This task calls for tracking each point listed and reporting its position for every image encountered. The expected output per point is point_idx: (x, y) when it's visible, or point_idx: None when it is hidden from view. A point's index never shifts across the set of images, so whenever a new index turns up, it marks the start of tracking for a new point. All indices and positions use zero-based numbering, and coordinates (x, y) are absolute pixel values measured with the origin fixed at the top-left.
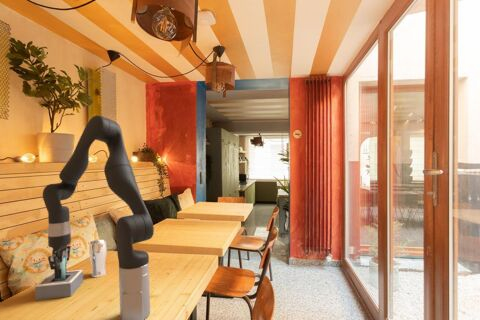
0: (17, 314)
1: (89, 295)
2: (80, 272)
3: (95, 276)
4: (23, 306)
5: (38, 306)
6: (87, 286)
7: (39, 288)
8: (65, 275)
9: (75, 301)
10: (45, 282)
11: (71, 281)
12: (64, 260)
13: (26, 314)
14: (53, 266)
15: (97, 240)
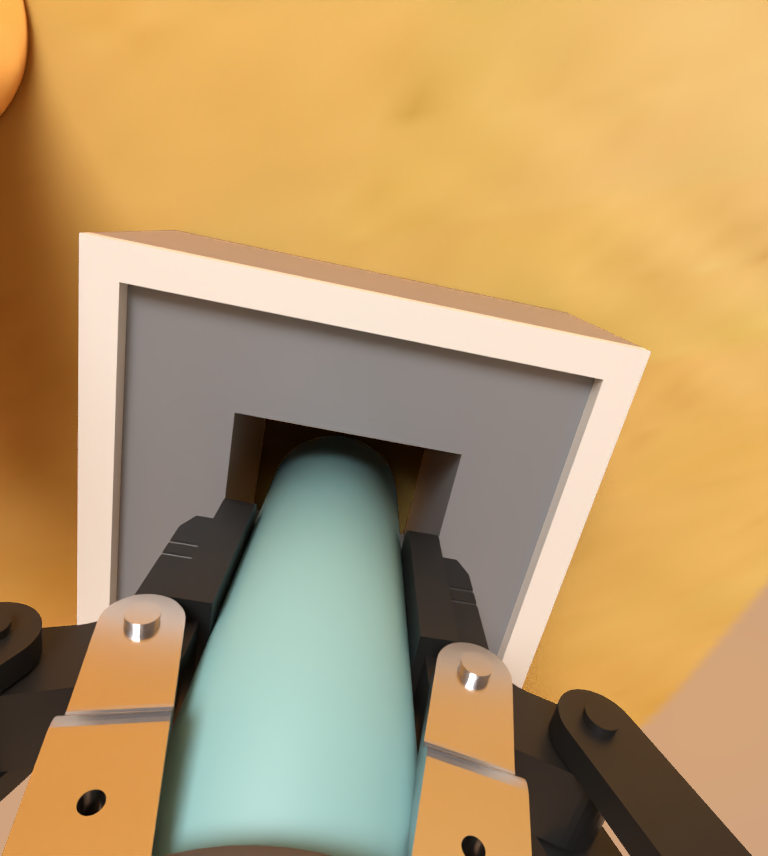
0: (677, 671)
1: (674, 66)
2: (208, 257)
3: (18, 49)
4: (546, 672)
5: (622, 566)
6: (346, 142)
7: None
8: (329, 485)
9: (741, 232)
10: None
11: (612, 342)
12: (324, 731)
13: (725, 614)
14: (585, 839)
15: None
